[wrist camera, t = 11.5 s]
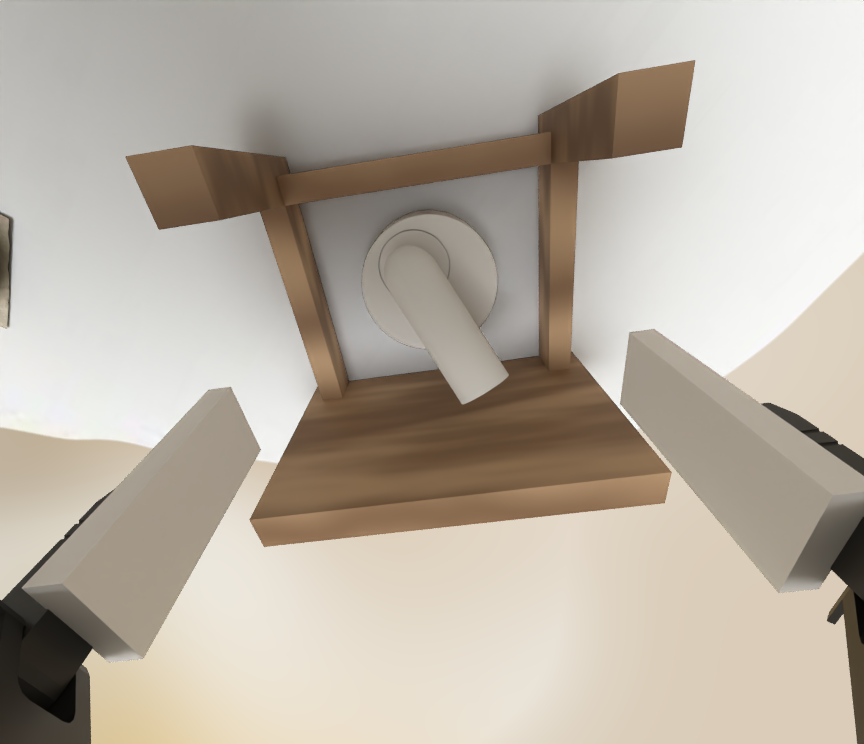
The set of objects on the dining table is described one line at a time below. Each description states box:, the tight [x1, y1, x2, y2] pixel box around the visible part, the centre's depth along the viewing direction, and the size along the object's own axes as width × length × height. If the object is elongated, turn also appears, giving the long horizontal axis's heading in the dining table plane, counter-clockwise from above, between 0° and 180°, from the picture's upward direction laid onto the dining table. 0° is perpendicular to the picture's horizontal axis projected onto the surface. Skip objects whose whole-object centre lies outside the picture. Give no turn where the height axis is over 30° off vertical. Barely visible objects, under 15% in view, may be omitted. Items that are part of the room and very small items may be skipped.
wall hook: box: [362, 210, 509, 404], centre depth 22 cm, size 9×10×10 cm
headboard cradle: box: [126, 60, 695, 547], centre depth 20 cm, size 18×20×13 cm
